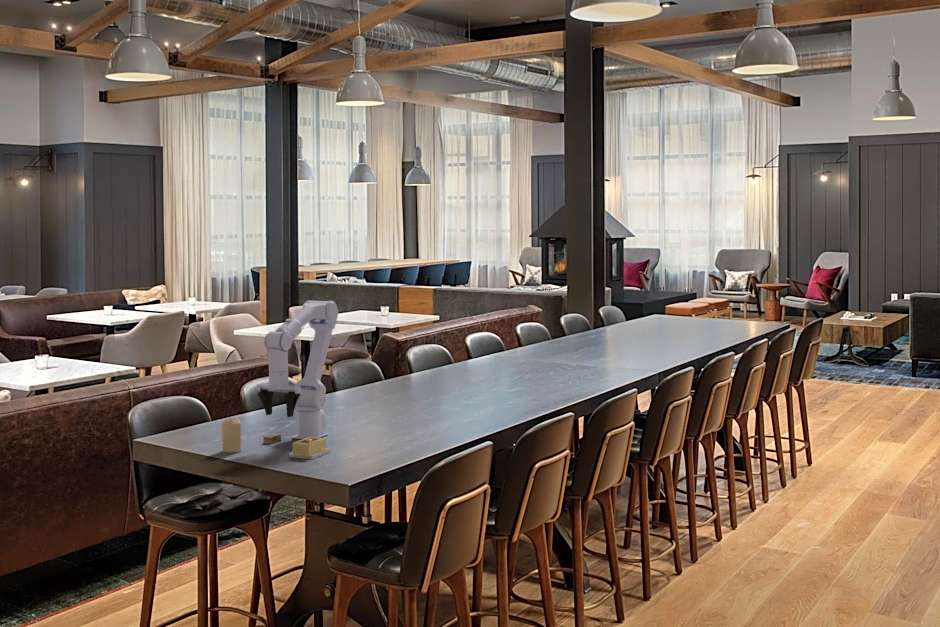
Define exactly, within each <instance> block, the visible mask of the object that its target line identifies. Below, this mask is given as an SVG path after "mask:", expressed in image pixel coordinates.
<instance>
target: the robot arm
mask: <svg viewBox="0 0 940 627" xmlns="http://www.w3.org/2000/svg"><path fill="white" fill-rule="evenodd" d="M338 315H339V309H338V306H337V304H336V302H335V301H334V300H310V299H308V300H306V301H305V302H304V303H303V304H302V310H300V311H299V313H298V314H297V315H295V317H294V318H287V319H285V322H283V323H282V324H281V325H280V326H279V327H277V328H276V329H275V330H273V331H272V330H271V331H269V332H268V333H266V335H265V336H264V341H263V344H264V348H265V350H266V356H268V382H269V383H258V384H257V385H256V386H257V387H256V391H258V393H257V396H258V398H259V399H260V401H261V403H262V405H263V409H264V411H265V416H270V415H272V413H273V400H274V393H275V392H278V393H285V394H284V395H283V397H284V399H285V403H286V417H287V418H291V417H293V416H294V412H295V411H296V431H297V432H296V433H297V434H295V435H293V436H291V439H296V440H297V439H298V440H302V439H305V438H307V437H317V438H324V437H325V436H328V435H329V433H328V432H327V422H326V421H327V418H326V413H325V411H324V410H323V408H324V406H325V404H326V393H327V392H326V391H327V388H326V386H325V385H324V384H323V383H322V381H321V380H322V379H321V378H322V376H323V371H324V367H325V363H326V359H327V355H328V350H329V347H330V342H331V337H332V334H333V330H334V329H336V328H335V327H336V324H337V320H338ZM307 324H308V325H309V327H310V328H311V329H313V330H314V335H313V339H312V340H313V341H312V345H311V348H310V352H309V356H308V360H307V364H306V368H305V371H304V376H303V378H301V379H300V380H298V381H297V382H296V383H295V385H292V384H289V350H290V349H291V347H292V344H293V342H294V340H295V339H297V337H298V336H299V335H301V333H302V331H303V327H304V326H306V325H307Z"/></svg>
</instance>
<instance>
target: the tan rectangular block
mask: <svg viewBox="0 0 940 627" xmlns="http://www.w3.org/2000/svg"><path fill="white" fill-rule="evenodd" d="M262 438H263V440H262V441H263V444H269V445H273V444H275V443H278V442H281V441H282V435H281V433H271V434H267V435H264V436H263V437H262Z"/></svg>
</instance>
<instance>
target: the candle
mask: <svg viewBox="0 0 940 627" xmlns="http://www.w3.org/2000/svg"><path fill="white" fill-rule="evenodd" d="M221 433H222V434H221V437H222V441H221V442H222V443H221V444H222V452H223V453H227V454H228V453H229V454H231V453H233V454H234V453H239V452H241V451H242V423H241V421H240V419H238V417H234V418H231V417H229V418H228V417H226V418H225V419H224V420H223V421H222V423H221Z"/></svg>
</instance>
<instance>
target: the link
mask: <svg viewBox="0 0 940 627" xmlns="http://www.w3.org/2000/svg"><path fill="white" fill-rule="evenodd" d="M306 439H313V442H310V443H306ZM326 441H327V440H326V438H325V437H320V438H317V437H307V438H305V439H298V440H296V441H294V442H292V452H293V454H300V455H311V454H314V453H317V452H319V451H322V450H324V449H326V448H327V447H326V446H327V445H326V444H327V442H326Z"/></svg>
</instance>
